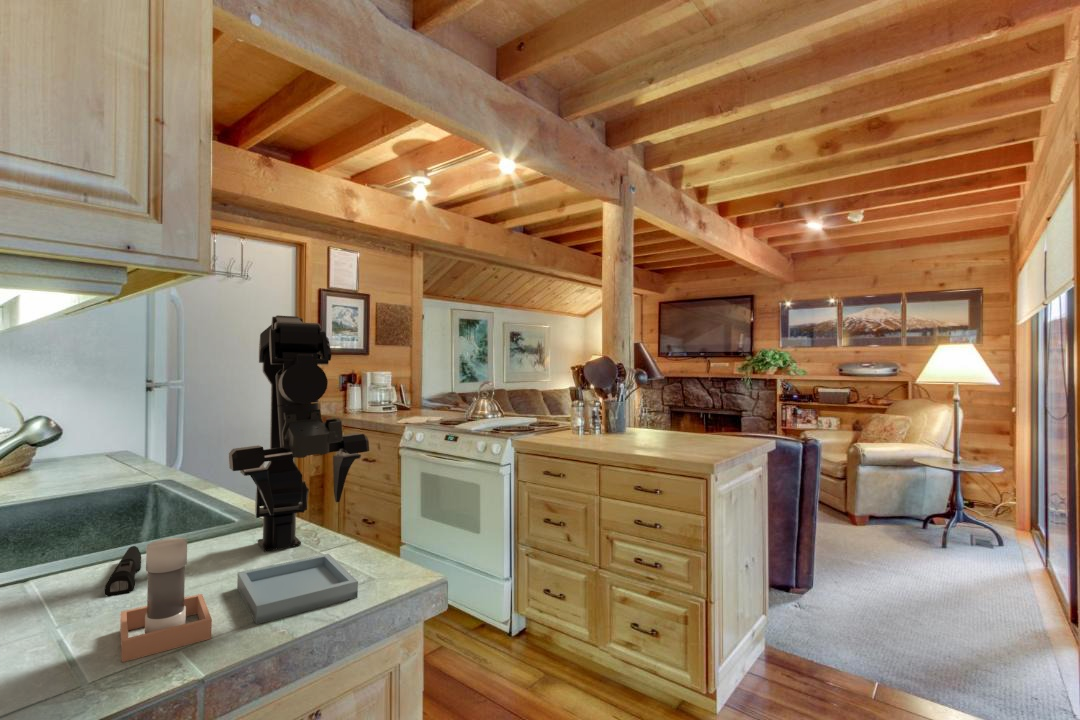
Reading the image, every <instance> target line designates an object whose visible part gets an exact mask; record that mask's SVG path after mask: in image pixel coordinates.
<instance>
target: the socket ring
mask: <svg viewBox="0 0 1080 720" xmlns="http://www.w3.org/2000/svg"><path fill="white" fill-rule="evenodd" d="M184 606H185V607H186V617H190V616H194V615H197V617H198V620H196V621H192V622H186V624H182V625H178V626H174V627H170V628H166V629H162V630H158V631H154V632H150V633H146V634H145V633H142V634H138V635H133V636H131V637H129V631H131V630H135V629H140V628H145V615H146V613H147V605H145V606H140V607H136V608H132V609H127V610H123V611H122V610H121V611H120V649H121V650H120V652H121V663H125V662H128V661H132V660H136V659H139V658H142V657H143V658H144V657H147V656H151V655H154V654H158V653H162V652H165V651H171V650H173V649H176V648H180V647H184V646H188V645H191V644H195V643H199V642H203V641H206V640H211V639H212V630H213V629H212V626H213V625H212V624H213V622H212V621H213V619H212V617H211V614H210V611H209V608H208V605H207V603H206V601H205V597H204V595H203V593H198V594H194V595H191V596H189V595H188V596H186V597H185V596H184Z"/></svg>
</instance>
